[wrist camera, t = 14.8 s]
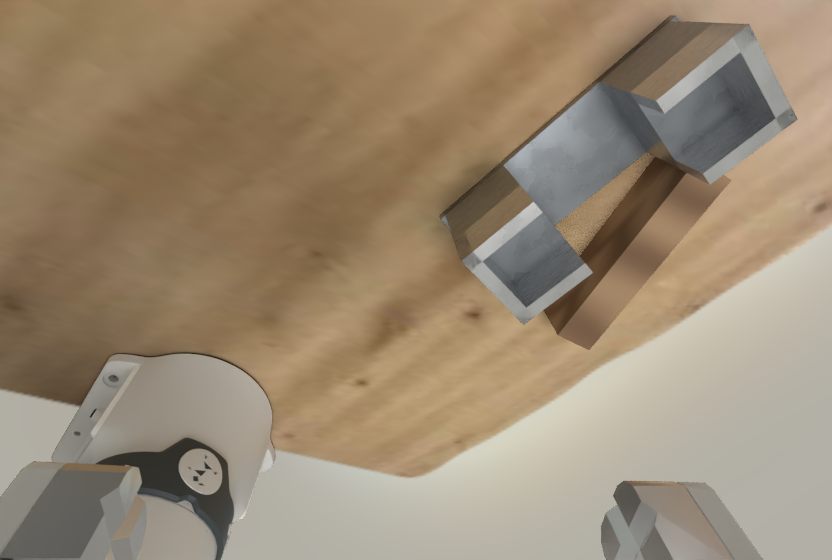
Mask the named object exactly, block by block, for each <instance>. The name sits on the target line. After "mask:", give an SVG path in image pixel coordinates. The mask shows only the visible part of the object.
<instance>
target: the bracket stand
mask: <svg viewBox="0 0 832 560" xmlns="http://www.w3.org/2000/svg"><path fill="white" fill-rule="evenodd" d="M796 120H797V117H796V115H795V113H794V111H793V109H792V107H791V105H790V103H789V101H788V99H787V98H786V96H785V94H784V92H783V90H782V88H781V86H780V84H779V82H778V80H777V78H776V76H775V74H774V72H773V70H772V68H771V66H770V64H769V62H768V60H767V58H766V56H765V54H764V52H763V50H762V49H761V47H760V45H759V43H758V41H757V39H756V37H755V35H754V33H753V31H752V29H751V27H750V25H749V24H730V23H704V22H680V21H679V20H678V18H677V16H670V17H669V18H668V19H666V20H665V21H664V22H663V23H662V24H661V25H659V26H658V27H657V28H656V29H655V30H654V31H652V32H651V33H650V34H649V35H648V36H647V37H646V38H644V39H643V40H642V41H641V42H640V43H639V44H637V45H636V46H635V47H634V48H633V49H632V50H631V51H629V52H628V53H627V54H626V55H625V56H624V57H622V58H621V59H620V60H619V61H618V62H617V63H616V64H614V65H613V66H612V67H611V68H610V69H609V70H607V71H606V72H605V73H604V74H603V75H602V76H601V77H599V78H598V79H597V80H596V81H595V82H594V83H592V84H591V85H590V86H589V87H588V88H587V89H586V90H584V91H583V92H582V93H581V94H580V95H579V96H577V97H576V98H575V99H574V100H573V101H572V102H571V103H569V104H568V105H567V106H566V107H565V108H564V109H562V110H561V111H560V112H559V113H558V114H557V115H556V116H554V117H553V118H552V119H551V120H550V121H549V122H547V123H546V124H545V125H544V126H543V127H542V128H541V129H539V130H538V131H537V132H536V133H535V134H534V135H532V136H531V137H530V138H529V139H528V140H527V141H526V142H524V143H523V144H522V145H521V146H520V147H519V148H517V149H516V150H515V151H514V152H513V153H512V154H510V155H509V156H508V157H507V158H506V159H505V160H504V161H502V162H501V163H500V164H499V165H498V166H497V167H495V168H494V169H493V170H492V171H491V172H490V173H489V174H487V175H486V176H485V177H484V178H483V179H482V180H480V181H479V182H478V183H477V184H476V185H475V186H474V187H472V188H471V189H470V190H469V191H468V192H467V193H465V194H464V195H463V196H462V197H461V198H460V199H459V200H457V201H456V202H455V203H454V204H453V205H452V206H450V207H449V208H448V209H447V210H446V211H445V212H444V213H442V214H441V215H440V219H441V220H442V221H443V222H444V223H445V224H446V225H447V226H448V227H449V229H450V230H451V233H452V236H453V239H454V242H455V244H456V247H457V250H458V253H459V256H460V259H461V261H462V262H463V263H464V264H465V266H466V267H467V268H468V269H469V270H470V271H471V272H472V273H473V274H474V275H475V276H476V277H477V278H478V279H479V280H480V281H481V282H482V283H483V284H484V285H485V286H486V287H487V288H488V289H489V290H490V291H491V292H492V293H493V294H494V295H495V296H496V297H497V298H498V299H499V300H500V301H501V302H502V303H503V304H504V305H505V306H506V307H507V309H508V310H509V311H510V312H511V313H512V314H513V315H514V316H515V317H516V318H517V319H518V320H519V321H520V322H521V323H522V324H523V325H524V324H525V323H527V322H528V321H529V320H531V319H532V318H533V317H535V316H536V315H537V314H539V313H540V312H541V311H543V310H544V309H545V308H547V307H548V306H549V305H551V304H552V303H553V302H555V301H556V300H557V299H559V298H560V297H561V296H563V295H564V294H565V293H567V292H568V291H569V290H571V289H572V288H573V287H575V286H576V285H577V284H579V283H580V282H581V281H583V280H584V279H585V278H587V277H588V276H589V275H591V274H592V273H593V272H592V271H591V269H590V268H589V267H588V266H587V265H586V263H585V262H584V261H583V260H582V259H581V257H580V256H579V255H578V254H577V253H576V251H575V250H574V249H573V248H572V247H571V246H570V244H569V243H568V242H567V241H566V240H565V238H564V237H563V236H562V235H561V234H560V232H559V231H558V230H557V229H556V228H555V225H556V224H557V223H558V222H560V221H561V220H562V219H563V218H565V217H566V216H567V215H568V214H570V213H571V212H572V211H573V210H575V209H576V208H577V207H578V206H580V205H581V204H582V203H583V202H585V201H586V200H587V199H588V198H590V197H591V196H592V195H593V194H595V193H596V192H597V191H598V190H600V189H601V188H602V187H603V186H605V185H606V184H607V183H608V182H610V181H611V180H612V179H613V178H615V177H616V176H617V175H618V174H620V173H621V172H622V171H623V170H625V169H626V168H627V167H629V166H630V165H631V164H632V163H634V162H635V161H636V160H637V159H639V158H640V157H641V156H642V155H644V154H645V153H646V152H648V153H650V154H652V155H653V156H655V157H657V158H659V159H661V160H663V161H665V162H667V163H669V164H671V165H673V166H675V167H676V168H678V169H680V170H682V171H684V172H686V173H688V174H690V175H692V176H694V177H696V178H698V179H700V180H701V181H703V182H705V183H707V184H709V185H711V184H712V183H713V182H715V181H716V180H717V179H719V178H720V177H721V176H723V175H724V174H725V173H727V172H728V171H729V170H731V169H732V168H733V167H735V166H736V165H737V164H739V163H740V162H741V161H743V160H744V159H745V158H747V157H748V156H749V155H751V154H752V153H753V152H755V151H756V150H757V149H759V148H760V147H761V146H763V145H764V144H765V143H767V142H768V141H769V140H771V139H772V138H773V137H775V136H776V135H777V134H779V133H780V132H781V131H782V130H784V129H785V128H786V127H788V126H789V125H790V124H792V123H793V122H794V121H796Z"/></svg>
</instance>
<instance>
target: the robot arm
mask: <svg viewBox="0 0 832 560" xmlns="http://www.w3.org/2000/svg"><path fill="white" fill-rule="evenodd" d="M113 375H115V376H117V377H118V378H117V377H114V376H113ZM271 427H272V410H271V406H270V403H269V401H268V398H267V396H266V395H265V393H264V391H263V390H262V389H261V387H260V386H259V385H258V384H257V383H256V382H255V381H254V380H253V379H252V378H251V377H250V376H249V375H247V374H246V373H245V372H243V371H242V370H240V369H239V368H237V367H235V366H233V365H231V364H229V363H227V362H224V361H222V360H219V359H216V358H212V357H208V356H203V355H197V354H172V355H165V356H159V357H148V358H147V357H141V356H135V355H128V354H116V355H113V356H111V357H110V358H109V359H108V361H107V362H106V364H105V366H104V367H103V369H102V371H101V372H100V374H99V376H98V378H97V379H96V381H95V383H94V384H93V386H92V388H91V389H90V391H89V393H88V394H87V396H86V398H85V400H84V401H83V403H82V405H81V406H80V408H79V410H78V412H77V413H76V415H75V417H74V418H73V420H72V422H71V423H70V425H69V427H68V428H67V430H66V432H65V433H64V435H63V437H62V439H61V440H60V442H59V444H58V446H57V447H56V449H55V451H54V453H53V455H52V461H53V462H35V461H34V462H32V463H31V464H29V465H28V466H26V467H25V468H23V469H22V470H21V471H20V473H19V474H18V475H17V477H16V478H15V479H14V480H13V482H12V483H11V484H10V485H9V487H8V488H7V489H6V491H5V492H4V493H3V494H2V496H1V497H0V560H220V559H221V557H222V554H223V551H224V550H225V548H226V546H227V543H228V539H229V536H230V533H231V525H232V524H233V523H235V522H236V521H237V520H241V519H242V518H243V517H244V516H245V514H246V512H247V509H248V506H249V504H250V501H251V498H252V495H253V492H254V490H255V487H256V484H257V481H258V478H259V475H260V474H262V473H264V472H265V471H267V470H269V469H270V468H271V467H272V466H273V464H274V460H275V457H276V455H275V450H274V448H273V445H272V443H271V440H270V432H271ZM613 496H614V498H615V500H616V502H617V505H616V506H615V507H613V508H612V509H611V510H609V511H608V512H607V513H606V514H605V517H604V520H603V523H602V526H601V543H602V548H603V552H604V556H605V558H606V560H763V558H762V557H761V556H760V554H759V553H758V552H757V550H756V549H755V547H754V546H753V544H752V543H751V542H750V540H749V539H748V537H747V536H746V535H745V533H744V532H743V530H742V529H741V528H740V526H739V525H738V523H737V522H736V521H735V519H734V518H733V516H732V515H731V514H730V512H729V511H728V510H727V508H726V507H725V505H724V504H723V503H722V501H721V500H720V498H719V497H718V495H717V494H716V493H715V491H714V490H713V489H712V488H711V487H710V486H708V485H707V484H706V483H689V482H677V483H675V482H659V481H623V482H622V483H620V484H619V485H618V486H617V488H616V490H615V493H614V495H613Z"/></svg>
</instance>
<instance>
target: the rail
mask: <svg viewBox="0 0 832 560" xmlns="http://www.w3.org/2000/svg"><path fill="white" fill-rule="evenodd" d="M730 181H731V180H730V179H729V178H727V177H726V176H724V175H723V176H721V177H720V178H719V179H717V180H716V181H715V182H713V183H712V184H711V185H709V184H707V183H705V182H703V181H701V180H700V179H698V178H696V177H694V176H692V175H690V174H688V173H686V172H684V171H682V170H680V169H678V168H676V167H675V166H673V165H671V164H669V163H667V162H665V161H663V160H661V159H659V158H657V157H655V158H654V159H653V160H652V162H651V163H650V164H649V166H648V167H647V168H646V170H645V171H644V172H643V174H642V175H641V176H640V178H639V179H638V180H637V181H636V183H635V184H634V185H633V187H632V188H631V189H630V191H629V192H628V193H627V195H626V196H625V197H624V199H623V200H622V201H621V203H620V204H619V205H618V207H617V208H616V209H615V210H614V212H613V213H612V214H611V216H610V217H609V218H608V220H607V221H606V222H605V224H604V225H603V226H602V228H601V229H600V230H599V232H598V233H597V234H596V236H595V237H594V238H593V239H592V241H591V242H590V243H589V245H588V246H587V247H586V249H585V250H584V251H583V253H582V254H581V255H580V257H581V259H582V260H583V261H584V262H585V263H586V265H587V266H588V267H589V268H590V269H591V271H592V272H593V273H592V274H591V275H589V276H588V277H587V278H585V279H584V280H583V281H581V282H580V283H579V284H577V285H576V286H575V287H573V288H572V289H571V290H569V291H568V292H567V293H565V294H564V295H563V296H561V297H560V298H559V299H557V300H556V301H555V302H553V303H552V304H551V305H549V306H548V307H547V308H545V309H544V311H545V313H546V315H547V317H548V319H549V320H550V322H551V324H552V326H553V327H554V329H555V331H556V333H557V334H558V335H559V336H561V337H563V338H565V339H567V340H569V341H571V342H573V343H575V344H577V345H579V346H582V347H584V348H586V349H588V350H590V349H591V347H592V346H593V345H594V344H595V343H596V341H597V340H598V339H599V338H600V337H601V335H602V334H603V333H604V332H605V331H606V329H607V328H608V327H609V326H610V325H611V323H612V322H613V321H614V320H615V319H616V317H617V316H618V315H619V314H620V313H621V311H622V310H623V309H624V308H625V307H626V305H627V304H628V303H629V302H630V301H631V299H632V298H633V297H634V296H635V295H636V294H637V292H638V291H639V290H640V289H641V288H642V286H643V285H644V284H645V283H646V282H647V280H648V279H649V278H650V277H651V276H652V274H653V273H654V272H655V271H656V270H657V268H658V267H659V266H660V265H661V264H662V262H663V261H664V260H665V259H666V258H667V256H668V255H669V254H670V253H671V252H672V250H673V249H674V248H675V247H676V246H677V244H678V243H679V242H680V241H681V240H682V239H683V237H684V236H685V235H686V234H687V233H688V231H689V230H690V229H691V228H692V227H693V225H694V224H695V223H696V222H697V221H698V219H699V218H700V217H701V216H702V215H703V213H704V212H705V211H706V210H707V209H708V207H709V206H710V205H711V204H712V203H713V201H714V200H715V199H716V198H717V197H718V195H719V194H720V193H721V192H722V191H723V189H724V188H725V187H726V186H727V185H728V184H729V182H730Z"/></svg>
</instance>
